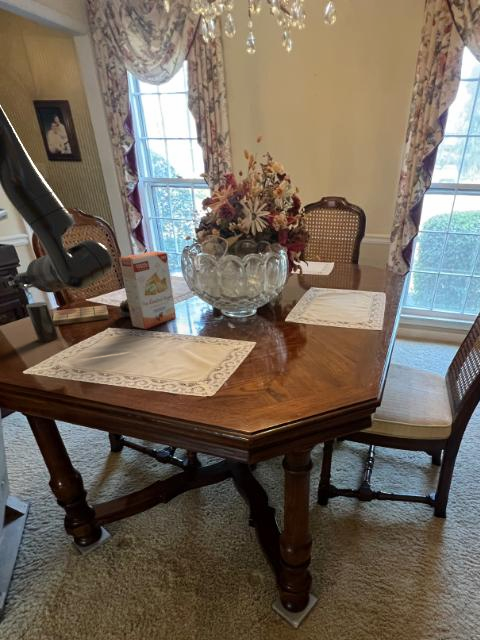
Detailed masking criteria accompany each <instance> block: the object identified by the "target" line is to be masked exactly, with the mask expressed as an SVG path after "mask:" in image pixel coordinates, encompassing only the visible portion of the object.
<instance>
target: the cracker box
mask: <svg viewBox="0 0 480 640" xmlns="http://www.w3.org/2000/svg"><path fill="white" fill-rule="evenodd" d="M118 261H119V266H120V271H121V277H122V282H123V287H124V290H125V295H126V299H127V301H128V306H129V311H130V316H131V317H130V320H131V324H132V327H133V328H138V329H142V330H147V329H150V328H152V327H155V326H158V325H161V324H163V323H166V322H169V321H171V320H173V319H176V318H177V315H176V314H177V313H176V308H175V300H174V294H173V287H172V279H171V273H170V272H171V271H170V264H169V258H168V253H167V252H163V251H149V252H148V251H147V252H143V253H137V254H130V255H125V256H119V257H118Z"/></svg>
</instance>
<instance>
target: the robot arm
mask: <svg viewBox="0 0 480 640" xmlns="http://www.w3.org/2000/svg"><path fill="white" fill-rule="evenodd" d="M0 187H1V189H2V191H3V192H4V195H5V196H6V197H7V199H8V201H9V202H10V204H11V205H12V206H13V207H14V209H15V210H16V211H17V213H18V214H19V216H20V217H21V218H22V219H23V220H24V222H26V224H27V225H28V226H29V227H30V230H32V232H33V233H34V234H35V235H36V238H37V239H38V241H39V243H40V245H41V247H42V248H43V251H44V253H45V254H46V255H43V256H40V257H38V258H35V259H33V260H32V261H30V262H29V263H28V265H27V268H26V270H25V271H24V272H19V273H16V274H15V276H10V275H9V277H6V278H1V279H0V283H1V285H2V287H3V288H4V291H5V292H6V291H7V292H10V291H11V290H12V291H13V290H18V289H22V290H28V289H30V288H31V289H32V288H35V289H37V290H39V291H41V292H44V293H56V292H61V291H65V290H69V289H72V290H74V291H81V290H84V289H86V288H87V287H89V286H91V285H92V284H93V283H96V282H97V281H99V280H100V279H102V278H104V277H105V276H107V275H108V274H109V273H111V272H112V269H113V267H114V262H113V256H112V253H111V252H110V251H109V249H108V248H107V247H106V246H105V245H104V244H102V243H101V242H99V241H97V240H94V239H84V240H81V241H80V242H78V243H76V244H74V245H73V246H70V247H69V248H67V249H66V248H65V244H64V241H63V237H65V235H66V234H67V233H68V232H69V231H71V230H72V229H73V227H74V225H75V221H74V218H73V217H72V215H71V214H70V212H69V211H68V209H67V208H66V207H65V205H64V204H63V203H62V201H61V200H60V199H59V197H58V195H57V194H56V192H54V190H53V189H52V187H51V186H50V185H49V184H48V182H47V181H46V179H45V178H44V176H43V175H42V174H41V172H40V171H39V169H38V167H37V166H36V165H35V163H34V162H33V159H32V158H31V157H30V154H29V153H28V151H27V150H26V148H25V146H24V145H23V143H22V141H21V140H20V137H19V136H18V133H16V130H15V129H14V127H13V126H12V123H11V122H10V120H9V118H8V116H7V115H6V112H5V111H4V109H3V108H2V106H1V105H0Z"/></svg>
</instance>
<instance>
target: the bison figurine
mask: <svg viewBox="0 0 480 640" xmlns="http://www.w3.org/2000/svg"><path fill="white" fill-rule="evenodd" d="M119 309H120V311H119V315H121V316H123V317H125V318H131V316H130V311H129V306H128V301H127V298H126V299H125V300H122V301H121V302H120V304H119Z"/></svg>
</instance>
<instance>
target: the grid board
mask: <svg viewBox="0 0 480 640" xmlns="http://www.w3.org/2000/svg"><path fill="white" fill-rule="evenodd" d="M52 319H53V323H54V326H61V325H69V324H77V323H85V322H91V321H99V320H101V321H102V320H108V319H110V316H109V311H108V308H107V305H106V304H103V305H96V306H87V307H86V306H85V307H77V308H76V307H75V308H66V309H59V310H54V311H53V317H52Z"/></svg>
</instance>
